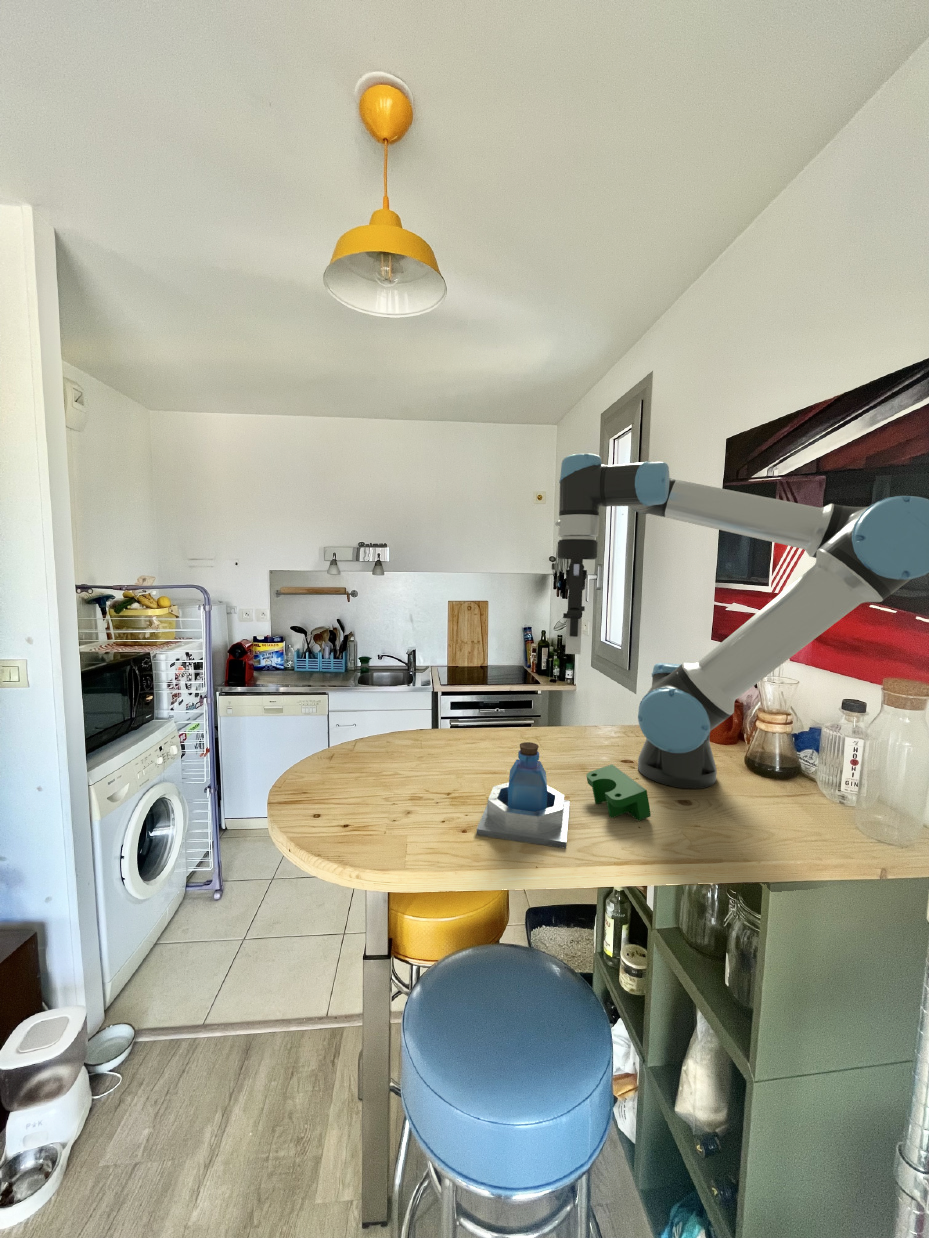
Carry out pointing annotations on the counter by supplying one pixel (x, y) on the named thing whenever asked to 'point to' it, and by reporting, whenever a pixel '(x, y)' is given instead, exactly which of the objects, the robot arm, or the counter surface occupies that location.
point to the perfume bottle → (527, 781)
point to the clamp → (619, 792)
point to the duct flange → (526, 819)
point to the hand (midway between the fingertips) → (573, 647)
